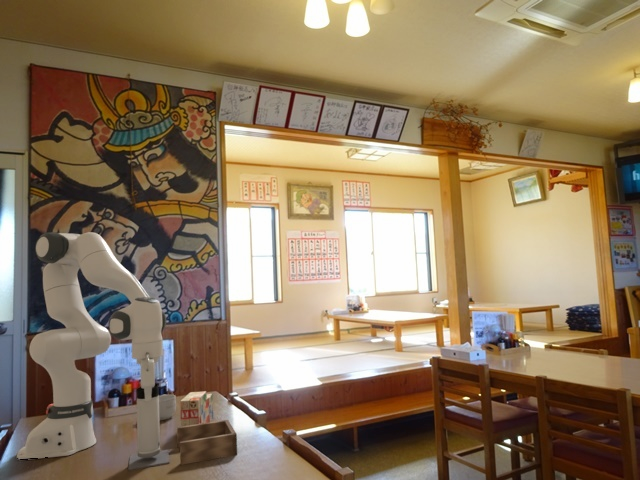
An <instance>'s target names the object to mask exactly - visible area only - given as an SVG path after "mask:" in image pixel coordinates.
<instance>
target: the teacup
mask: <svg viewBox="0 0 640 480" xmlns="http://www.w3.org/2000/svg"><path fill="white" fill-rule="evenodd" d="M176 399H177V398H176V394H175V395H174V394H162V395H159V421H165V420H168V419H170V418H172V417H173V415H174V414H175V413H176V410H177V402H176V401H177V400H176Z"/></svg>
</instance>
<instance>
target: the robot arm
mask: <svg viewBox="0 0 640 480" xmlns="http://www.w3.org/2000/svg"><path fill="white" fill-rule="evenodd" d="M34 246H35V247H34V249H35V255H36V257H37V258H38V259H39V260H40V261H41V262H44V263H47V264H46V265H45V266H44V268H43V272H42V289H43V295H44V300H45V305H46V312H47V314H48V316H49V317H50V318H51V319H53V320H55V321H57V322H59V323H61V324H62V325H64V326H65V328H57V329H50V330H46V331H43V332H40V333H37V334H36V335H34V337H33V338H32V340H31V341H30V344H29V348H28V349H29V355H30V357H31V358H32V360H33V361H34V362H35V363H36V364H38V365H40V366H41V367H42V368H44V369H45V370H46V371H47V373H48V375H49V376H50V379H51V384H52V393H53V395H52V396H53V399H52V400H53V403H51V404H48V406H47V407H46V410H45V414H46V418H44V420H42V421H41V422H40V423H39V424H37V426H36V427H34V428H33V429H32V430H31V431H30V432H29V433H28V436H27V438H26V442H25V446H23V447H21V449H19V450H18V451H17V453H16V459H17V458H19V459H24V458H38V459H46V458H45V457H48V458H56V457H65V456H66V457H67V456H70V455H73V454H76V453H77V452H79V451H82V450H85V449H87V448H88V449H89V448H90V447H92V446H93V445H95V444H96V443H97V438H96V436H95V431H94V425H93V419H92V417H93V415H94V410H93V409H94V407H93V406H94V403H93V399H92V397H91V396H92V382H91V381H92V380H91V377H90V375H88V373H87V372H84V371H82V370H79V369H77V367H76V364H75V363H76V362H75V361H76V360H77V361H78V360H83V359H89V358H93V357H94V358H95V357H96V356H99V355H102V354H104V353H106V352H107V351H108V350H109V348H110V346H111V343H112V338H113V339H115V340H118V341H127V340H131V358H132V359H133V360H136V364H137V365H140V387H141V388H144V393H145V401H151V394H152V387H154V385H155V383H156V381H155V380H156V379H155V372H156V371H155V370H156V364H157V363H158V362H159V360H160V358H159V357H162V356H164V347H163V345H164V344H163V343H164V341H163V340H164V339H163V336H162V333H163V332H164V330H165V328H166V327H167V326H166V325H167V316H166V314H165V311H164V309H162V306H161V302H160V300H159V299H156V298H154V297H151V296H150V295H149V293H147V291H146V289H145V288H144V287H143V285H142V284H141V283H140V281H139V279H138V278H137V277H136V276H135V274H133V273H132V272H131V271H129V269H126V268H125V266H123V265H122V264H121V262H120V261H119V260H118V259H117V258H116V256H115V254H114V252H113V251H112V249H111V247H110V246H109V244H108V243H107V241H106V240H105V239H104V238H103V237H102V236H101V235H100V234H98V233H97V232H91V231H88V232H84V233H82V234H79V233H68V232H67V233H65V232H64V233H63V232H62V233H61V232H54V231H53V232H45V233H42V234H41V235H40V236H39V237H38V239H37V240H36V242H35V245H34ZM79 270H81V272H82V273H81V274H82V275H83V276H84V278H85V280H87V281H88V282H89V283H90V284H91V285H94V286H96V287H98V288H104V289H110V290H113V291H116V292H119V293H121V294H123V295H124V296H125V297H126V298H127V299H128V301H130V304H128V305H127V306H126V307H124V308H121V309H119V310H116V311H114V312H113V313H112V314H111V315H110V317H109V319H108V329H107V327H105V326H103V325H101V324H100V323H98V322H97V321H95V319H93V317H92V316H91V315H90V314H89V312H88V311H87V309H86V306H85V304H84V299H83V296H82V290H81V287H80V282H79V279H78V272H79Z"/></svg>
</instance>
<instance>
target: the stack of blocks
mask: <svg viewBox="0 0 640 480" xmlns="http://www.w3.org/2000/svg"><path fill="white" fill-rule="evenodd" d="M179 405H180V427H183V426H189V425H196V424H202V423H209V422H212V420H213V419H214V402H213V393H208V392H207V391H205V390H204V391H191V392H189V393H188V394H186V396H184V397H183V398H182V399H181V400H180V404H179Z"/></svg>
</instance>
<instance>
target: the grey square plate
mask: <svg viewBox="0 0 640 480" xmlns="http://www.w3.org/2000/svg"><path fill="white" fill-rule="evenodd" d="M167 464H168V465H169V464H170V455H169V449H164V450H160V453H159V454H157V455H155V456H152V457H147V458H141V457H138V454H134V455H130V456H129V461H128V471H133V470H135V471H136V470H139V469H144V468H145V469H146V468H151V467H156V466H163V465H167Z"/></svg>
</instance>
